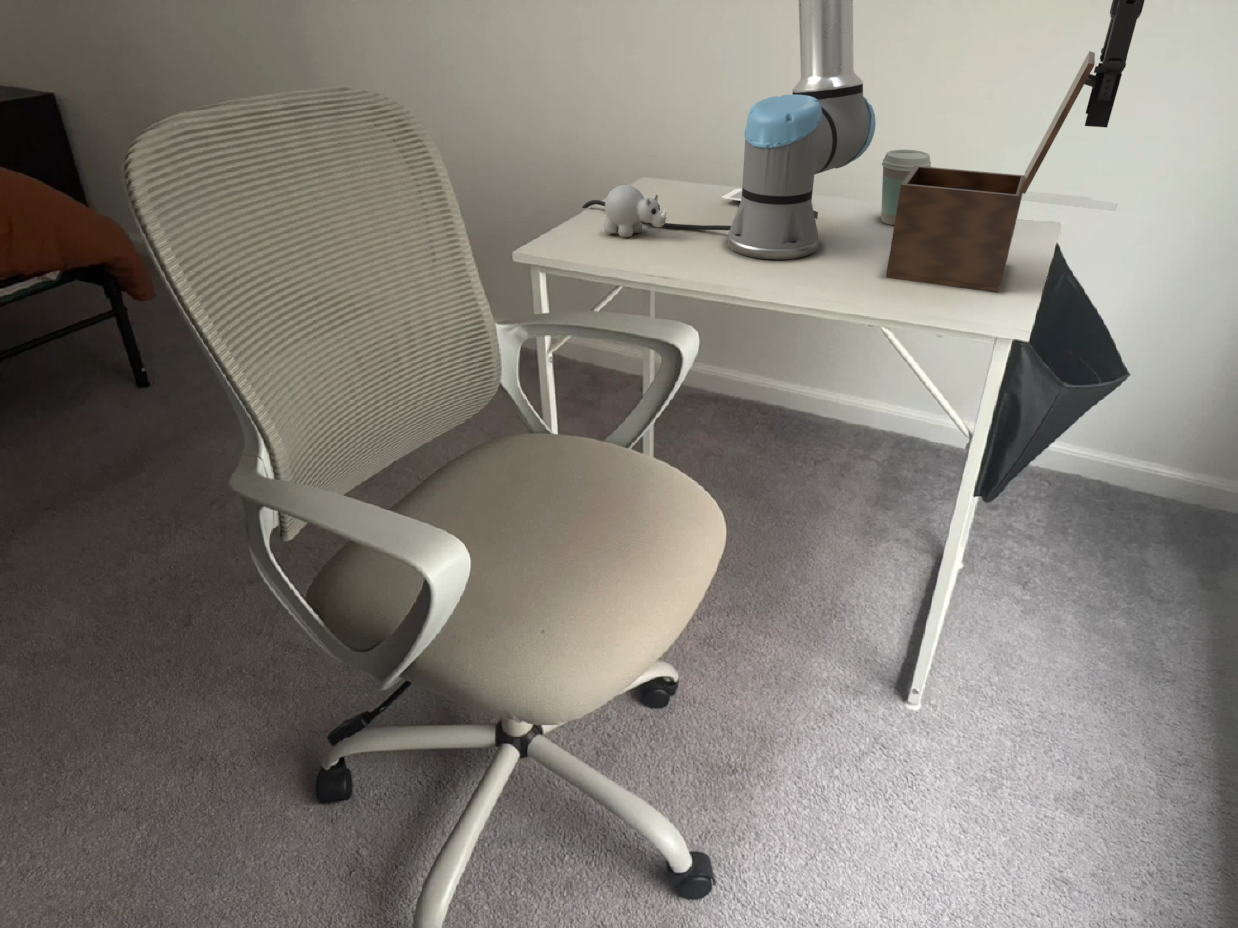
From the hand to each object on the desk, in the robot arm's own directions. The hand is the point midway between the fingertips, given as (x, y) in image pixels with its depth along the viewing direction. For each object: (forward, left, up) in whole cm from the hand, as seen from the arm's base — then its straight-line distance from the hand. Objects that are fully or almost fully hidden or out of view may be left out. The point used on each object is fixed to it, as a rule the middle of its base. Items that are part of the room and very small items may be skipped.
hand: (1095, 119), depth 118 cm
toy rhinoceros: (-68, -3, -24) cm, 72 cm away
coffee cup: (-27, +24, -24) cm, 44 cm away
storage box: (-15, 0, -24) cm, 28 cm away
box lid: (-5, 0, -1) cm, 5 cm away
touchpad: (-53, +25, -23) cm, 64 cm away
